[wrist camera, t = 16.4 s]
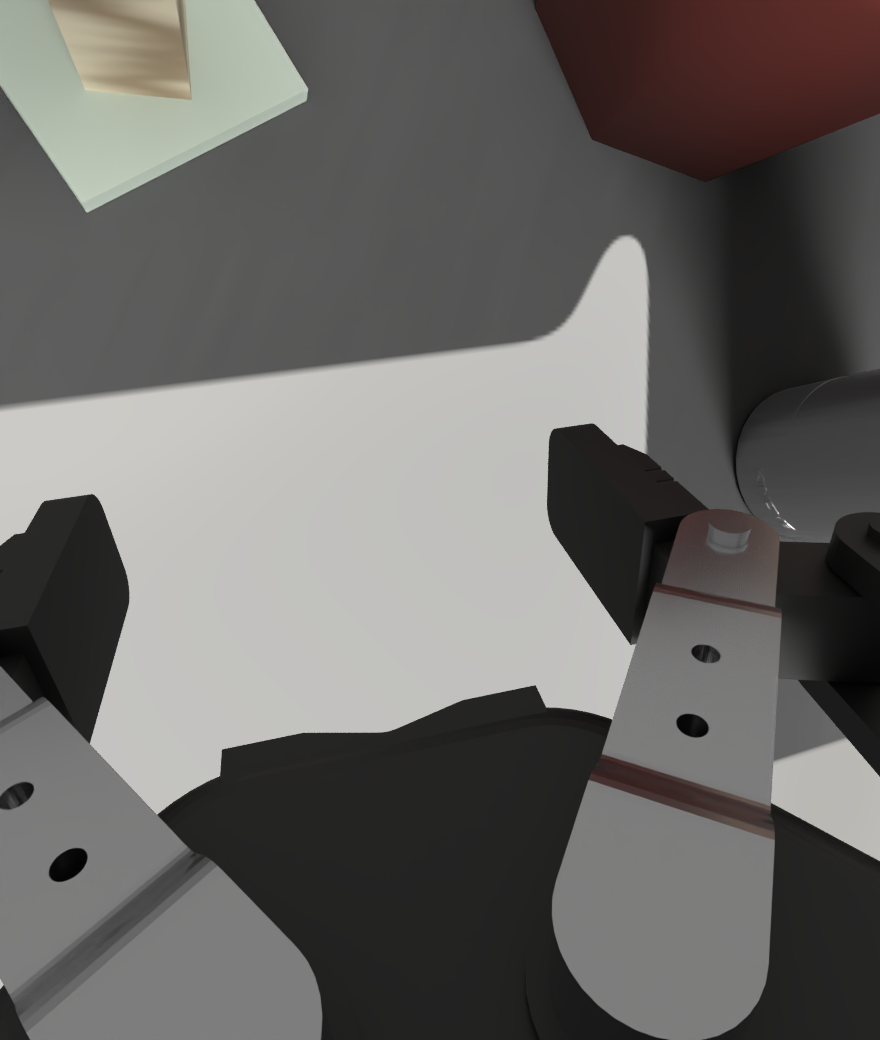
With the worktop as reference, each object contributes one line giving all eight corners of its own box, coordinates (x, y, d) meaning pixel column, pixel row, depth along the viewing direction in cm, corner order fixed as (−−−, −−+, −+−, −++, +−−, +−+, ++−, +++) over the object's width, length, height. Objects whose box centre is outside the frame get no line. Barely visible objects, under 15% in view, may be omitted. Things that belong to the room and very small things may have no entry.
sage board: (187, -95, 32) (185, -114, 31) (306, 100, 34) (307, 88, 33) (-55, 6, 30) (-65, -10, 29) (86, 212, 31) (81, 203, 30)
